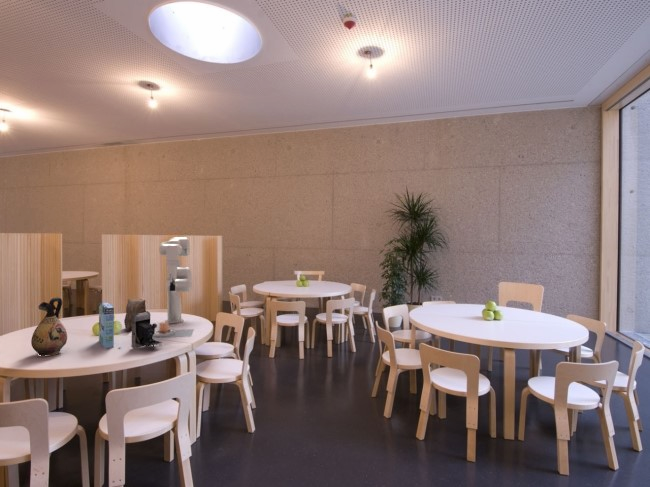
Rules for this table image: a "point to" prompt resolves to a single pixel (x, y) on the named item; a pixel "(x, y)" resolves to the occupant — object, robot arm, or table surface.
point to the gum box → (106, 325)
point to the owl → (133, 311)
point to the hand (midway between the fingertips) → (172, 290)
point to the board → (179, 334)
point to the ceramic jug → (49, 330)
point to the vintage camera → (143, 330)
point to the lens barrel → (166, 334)
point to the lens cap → (164, 327)
